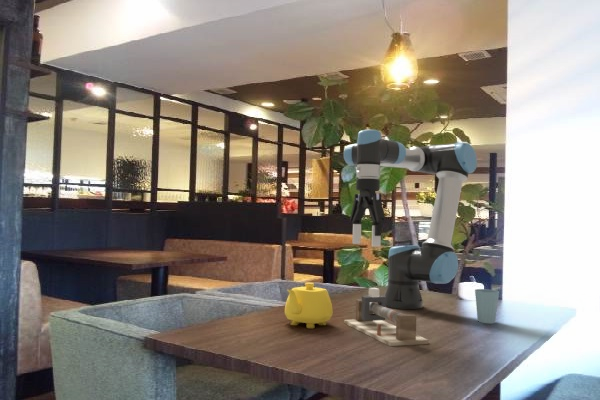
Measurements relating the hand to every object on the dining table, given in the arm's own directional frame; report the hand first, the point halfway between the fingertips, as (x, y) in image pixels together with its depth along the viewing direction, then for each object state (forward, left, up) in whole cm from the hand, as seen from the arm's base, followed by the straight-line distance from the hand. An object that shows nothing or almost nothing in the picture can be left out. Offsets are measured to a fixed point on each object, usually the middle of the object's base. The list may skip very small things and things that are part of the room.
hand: (365, 245), depth 167 cm
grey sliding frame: (+7, 0, -22) cm, 23 cm away
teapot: (-1, -19, -25) cm, 32 cm away
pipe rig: (+13, 0, -25) cm, 28 cm away
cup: (+6, +43, -25) cm, 50 cm away
